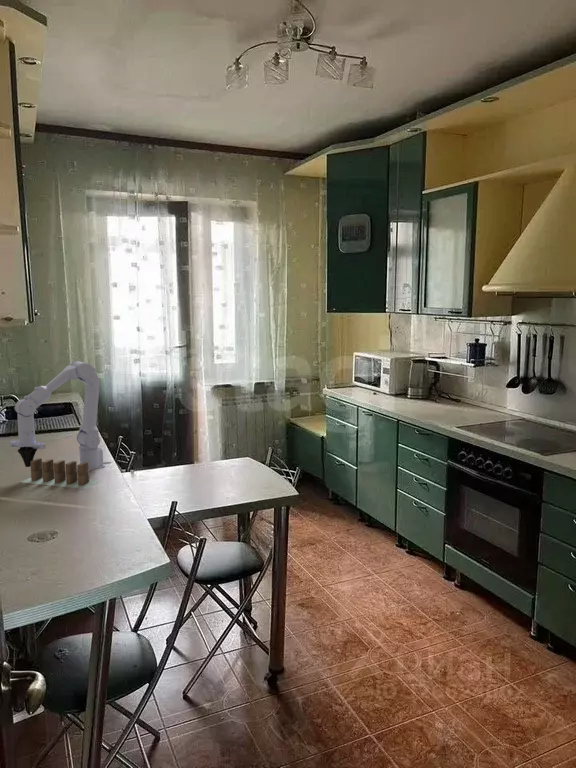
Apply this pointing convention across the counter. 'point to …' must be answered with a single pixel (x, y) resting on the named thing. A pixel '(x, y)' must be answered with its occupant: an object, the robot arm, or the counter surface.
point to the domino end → (83, 473)
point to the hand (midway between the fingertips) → (28, 466)
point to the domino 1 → (36, 469)
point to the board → (61, 483)
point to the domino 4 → (71, 472)
